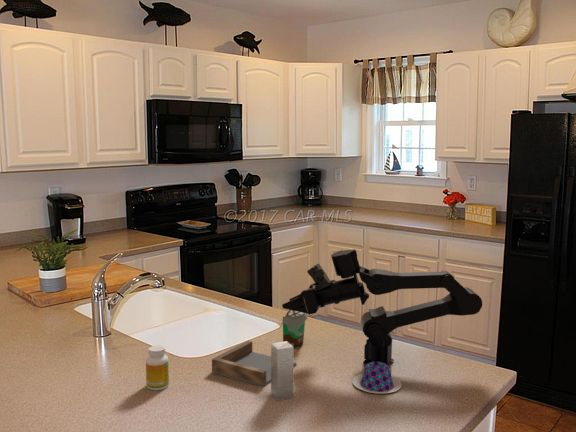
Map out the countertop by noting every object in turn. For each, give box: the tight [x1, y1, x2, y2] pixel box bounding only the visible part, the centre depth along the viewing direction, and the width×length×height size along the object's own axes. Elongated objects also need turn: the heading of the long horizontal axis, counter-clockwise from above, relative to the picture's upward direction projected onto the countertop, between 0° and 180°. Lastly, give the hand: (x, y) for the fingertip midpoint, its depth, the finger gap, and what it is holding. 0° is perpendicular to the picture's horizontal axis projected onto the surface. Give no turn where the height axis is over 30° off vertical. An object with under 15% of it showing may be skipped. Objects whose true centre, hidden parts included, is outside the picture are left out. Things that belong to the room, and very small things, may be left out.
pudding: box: [352, 362, 402, 394], centre depth 141 cm, size 12×12×5 cm
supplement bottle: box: [145, 345, 170, 391], centre depth 139 cm, size 5×5×10 cm
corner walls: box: [211, 340, 266, 384], centre depth 150 cm, size 16×16×3 cm
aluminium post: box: [270, 341, 295, 402], centre depth 134 cm, size 4×4×12 cm
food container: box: [281, 310, 308, 349], centre depth 167 cm, size 12×6×10 cm, turn 168°
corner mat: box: [211, 351, 297, 388], centre depth 150 cm, size 16×16×1 cm
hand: (286, 303), depth 156 cm, fingers open, 9 cm apart
